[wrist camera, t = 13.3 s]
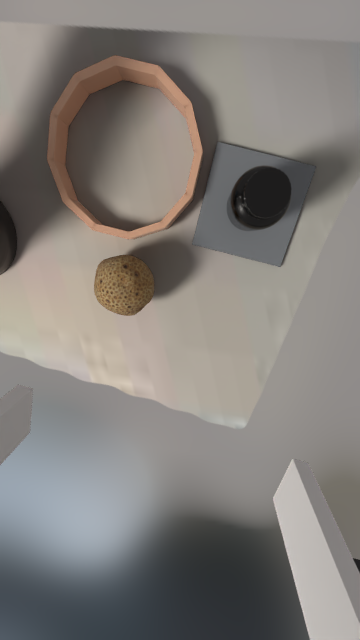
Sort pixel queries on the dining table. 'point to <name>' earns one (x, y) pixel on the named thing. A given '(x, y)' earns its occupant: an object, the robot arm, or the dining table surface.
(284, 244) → the mat
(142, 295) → the natural sponge
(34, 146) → the dining table surface
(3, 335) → the dining table surface
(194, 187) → the pink polygonal hoop
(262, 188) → the supplement bottle
